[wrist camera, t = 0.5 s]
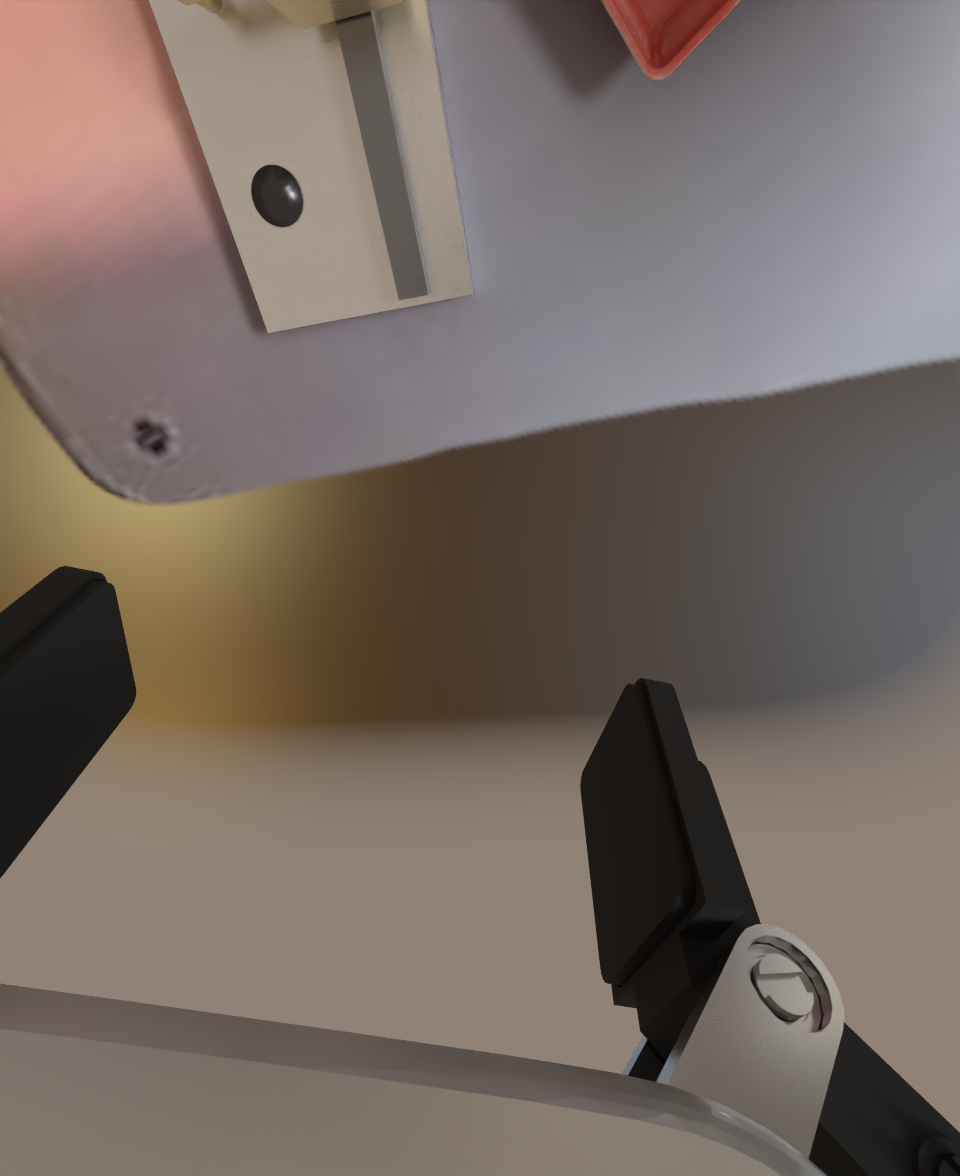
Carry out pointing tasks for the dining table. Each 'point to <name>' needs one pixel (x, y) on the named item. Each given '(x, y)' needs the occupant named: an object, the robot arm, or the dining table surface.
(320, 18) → the tan stemmed block
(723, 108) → the dining table surface
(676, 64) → the plant saucer
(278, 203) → the hole plate
